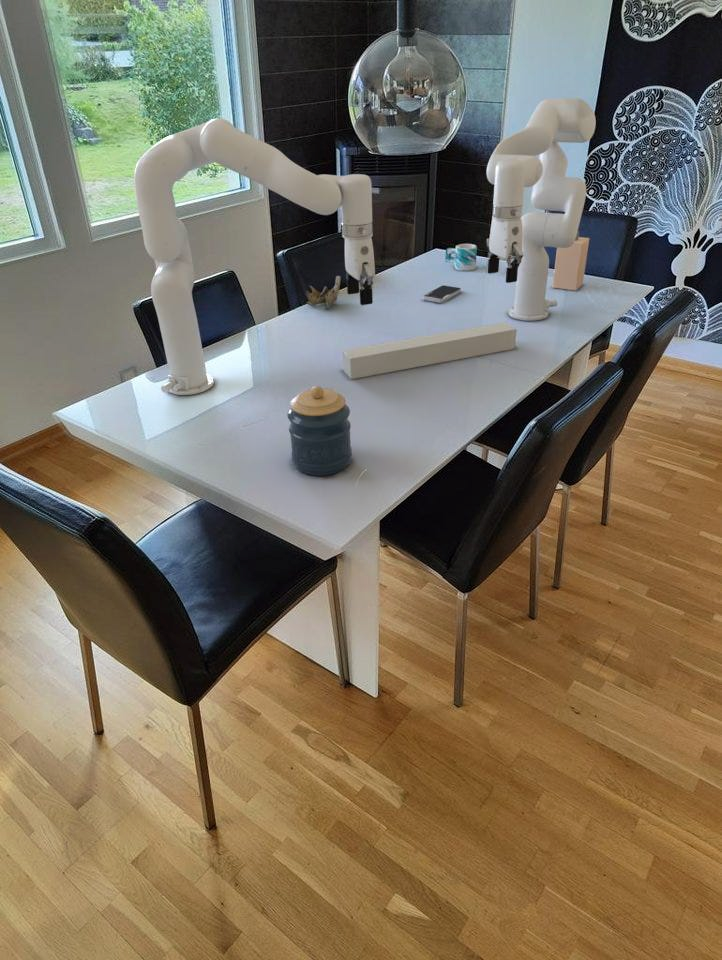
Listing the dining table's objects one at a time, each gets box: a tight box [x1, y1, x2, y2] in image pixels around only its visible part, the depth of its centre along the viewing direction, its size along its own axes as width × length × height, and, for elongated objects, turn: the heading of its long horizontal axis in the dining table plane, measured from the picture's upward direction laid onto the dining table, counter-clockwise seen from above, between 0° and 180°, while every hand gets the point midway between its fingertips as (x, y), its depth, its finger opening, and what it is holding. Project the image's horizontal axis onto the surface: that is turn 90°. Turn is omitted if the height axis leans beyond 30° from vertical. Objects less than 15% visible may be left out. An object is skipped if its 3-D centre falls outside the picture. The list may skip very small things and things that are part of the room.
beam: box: [342, 321, 518, 380], centre depth 189 cm, size 51×6×6 cm, turn 110°
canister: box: [287, 385, 353, 476], centre depth 141 cm, size 13×13×18 cm
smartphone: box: [422, 285, 462, 304], centre depth 237 cm, size 8×1×15 cm
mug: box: [445, 243, 478, 272], centre depth 265 cm, size 8×12×8 cm
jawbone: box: [305, 275, 341, 310], centre depth 232 cm, size 9×15×10 cm
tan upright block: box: [552, 230, 590, 292], centre depth 235 cm, size 13×9×22 cm
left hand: (359, 298), depth 174 cm, fingers open, 9 cm apart
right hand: (501, 277), depth 185 cm, fingers open, 9 cm apart
